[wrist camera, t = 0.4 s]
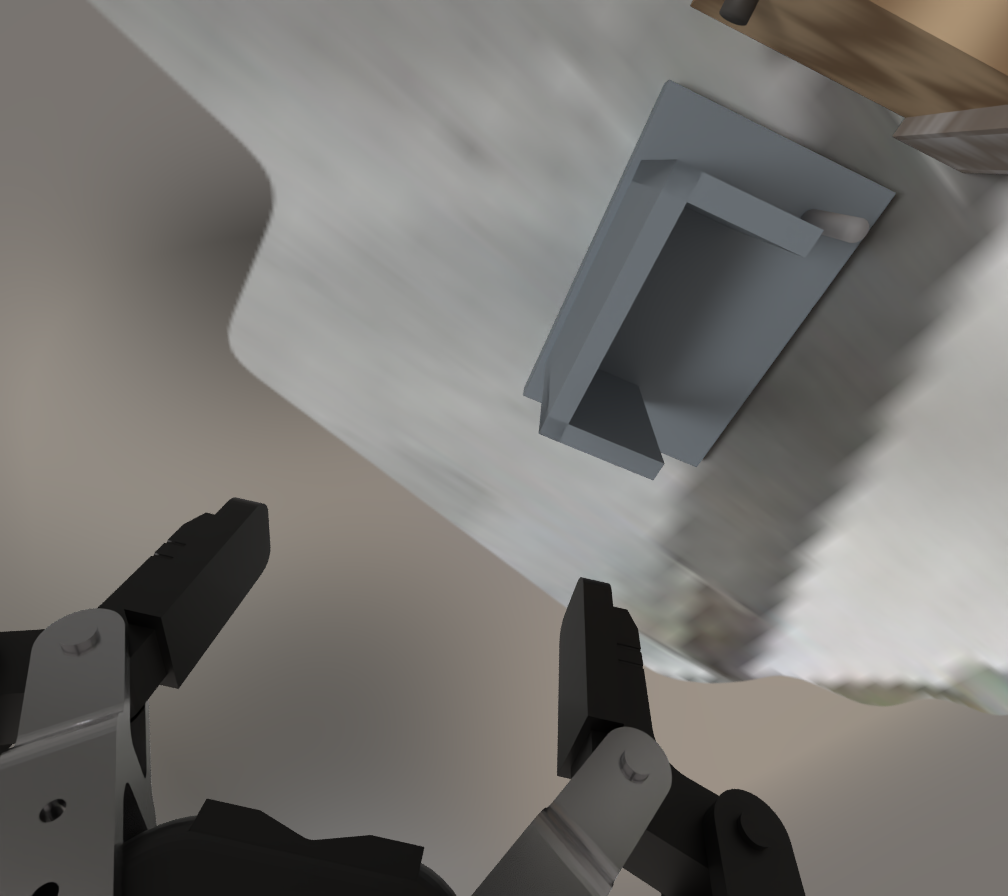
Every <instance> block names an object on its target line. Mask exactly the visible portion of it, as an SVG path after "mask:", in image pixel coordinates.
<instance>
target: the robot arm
mask: <svg viewBox="0 0 1008 896" xmlns="http://www.w3.org/2000/svg"><path fill="white" fill-rule="evenodd" d="M269 555H270V535H269V518H268V508H267V506H266V505H265V504H262V503H258V502H253V501H249V500H245V499H240V498H232V499H230V500H229V501H228V502H227V503H226V504H225V505H224V506H223V507H222V508H221V509H220V510H219V511H218V512H217V513H216V514H215V515H214V514H210V513H204V514H203V515H200V516H199V517H197V518H195V519H193V520H191V521H189V522H187V523H185V524H184V525H182V526H181V527H180V528H179V530H177V531H176V532H175V533H174V534H173V535H172V536H171V537H170V538H169V539H168V541H167V543H164V544H163V545H162V546H161V547H160V548H159V549H158V550H157V551H156V552H155V554H154V556H151V557H150V558H149V559H148V560H146V561H145V562H144V564H142V565H141V567H139V568H138V569H137V570H136V571H135V572H134V573H133V574H132V575H131V576H130V577H129V578H128V579H127V580H126V581H125V582H124V583H123V584H122V585H121V586H120V587H119V588H118V589H117V590H116V591H115V592H114V593H113V594H112V595H111V596H110V597H109V598H107V600H105V602H103V603H102V604H101V605H100V606H99V607H98V608H96V609H87V610H81V611H78V612H74V613H72V614H69V615H67V616H65V617H63V618H61V619H59V620H58V621H56V622H54V623H52V624H51V625H50V626H48V627H47V628H46V629H41V630H26V631H10V632H0V896H456V894H455V893H454V891H453V890H452V889H451V888H450V887H449V885H448V884H447V883H446V882H445V881H444V880H443V879H442V878H441V877H440V876H439V875H437V874H436V873H435V872H434V871H433V870H432V869H430V868H428V867H427V866H425V865H424V864H422V863H421V860H422V855H423V851H424V847H422V846H417V845H413V844H409V843H404V842H400V841H395V840H390V839H385V838H381V837H377V836H373V835H367V836H356V837H344V838H333V839H322V840H309V839H306V838H304V837H302V836H301V835H299V834H297V833H296V832H294V831H292V830H291V829H289V828H288V827H286V826H285V825H283V824H281V823H280V822H278V821H276V820H275V819H273V818H272V817H270V816H268V815H267V814H265V813H264V812H262V811H260V810H256V809H251V808H247V807H242V806H238V805H234V804H229V803H224V802H220V801H215V800H211V799H206V801H205V803H204V804H203V806H202V808H201V810H200V811H199V813H198V815H197V816H190V817H185V818H180V819H176V820H172V821H169V822H166V823H163V824H160V825H158V826H157V824H156V815H155V807H154V802H153V796H152V786H151V756H150V721H149V702H148V699H149V697H150V696H151V695H152V694H153V692H154V691H155V690H156V688H157V687H158V686H159V685H163V686H168V687H172V688H177V689H179V687H180V686H181V685H182V683H183V682H184V680H185V679H186V678H187V676H188V675H189V673H190V672H191V671H192V669H193V668H194V667H195V665H196V664H197V663H198V661H199V660H200V658H201V657H202V656H203V654H204V653H205V651H206V650H207V648H208V647H209V646H210V644H211V643H212V642H213V640H214V639H215V638H216V636H217V635H218V633H219V632H220V631H221V629H222V628H223V626H224V625H225V624H226V622H227V621H228V620H229V618H230V617H231V615H232V614H233V613H234V611H235V610H236V608H237V607H238V606H239V604H240V603H241V602H242V600H243V599H244V597H245V596H246V595H247V593H248V592H249V591H250V589H251V588H252V586H253V585H254V584H255V582H256V581H257V580H258V578H259V577H260V575H261V574H262V572H263V570H264V569H265V567H266V565H267V562H268V559H269ZM559 648H560V649H559V701H558V757H557V776H560V777H565V778H569V779H571V780H570V781H569V783H568V784H567V785H566V786H565V788H564V789H563V790H562V791H561V792H560V794H559V795H558V796H557V797H556V799H555V800H554V801H553V802H552V803H551V805H550V806H549V807H547V808H544V809H543V810H542V811H541V812H540V813H539V814H538V815H537V816H536V818H535V819H534V820H533V821H532V822H531V824H530V825H529V826H528V827H527V828H526V830H525V831H524V832H523V833H522V835H521V836H520V837H519V838H518V839H517V841H516V842H515V843H514V844H513V846H512V847H511V848H510V849H509V850H508V852H507V853H506V854H505V855H504V857H503V858H502V859H501V860H500V862H499V863H498V864H497V865H496V866H495V867H494V869H493V870H492V871H491V872H490V874H489V875H488V876H487V877H486V879H485V880H484V881H483V882H482V883H481V885H480V886H479V887H478V888H477V889H476V891H475V892H474V893H473V894H472V896H608V895H609V893H610V891H611V889H612V887H613V883H614V881H615V879H616V877H617V875H618V874H619V872H620V871H621V869H622V867H623V868H624V869H626V870H627V871H629V872H630V873H632V874H633V875H635V876H637V877H638V878H640V879H641V880H642V881H644V882H646V883H647V884H649V885H650V886H652V887H653V888H655V889H656V890H658V891H659V892H661V896H805V892H804V889H803V885H802V882H801V878H800V874H799V871H798V867H797V863H796V860H795V856H794V852H793V849H792V845H791V842H790V839H789V836H788V833H787V831H786V829H785V827H784V826H783V824H782V822H781V820H780V819H779V818H778V816H777V815H776V814H775V813H774V811H773V810H772V809H771V808H770V807H769V806H768V805H767V804H766V803H765V802H764V801H762V800H761V799H760V798H758V797H757V796H755V795H753V794H751V793H749V792H747V791H744V790H739V789H731V790H727V791H725V792H723V793H722V794H721V795H720V796H718V795H716V794H715V793H713V792H711V791H710V790H708V789H706V788H704V787H703V786H701V785H699V784H697V783H696V782H694V781H692V780H690V779H689V778H687V777H686V776H684V775H682V774H681V773H680V772H679V771H677V770H676V769H675V768H674V767H673V766H672V765H671V764H670V763H669V761H668V759H667V756H666V755H665V753H664V751H663V750H662V748H661V747H660V746H659V744H658V743H657V742H656V740H655V737H654V734H653V729H652V722H651V716H650V709H649V702H648V695H647V688H646V681H645V674H644V669H643V660H642V653H641V652H640V649H641V647H640V640H639V633H638V628H637V626H636V624H635V623H634V621H633V619H632V617H631V616H630V614H629V612H628V610H626V609H622V608H618V607H613V600H612V590H611V586H610V584H609V583H604V582H600V581H595V580H591V579H587V578H582V577H580V578H579V580H578V582H577V585H576V587H575V590H574V592H573V595H572V597H571V600H570V602H569V605H568V608H567V610H566V613H565V615H564V618H563V622H562V626H561V632H560V644H559ZM15 743H16V744H15ZM12 744H15V746H14V747H13V748H9V747H10V746H11V745H12Z"/></svg>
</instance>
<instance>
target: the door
mask: <svg viewBox="0 0 1008 896" xmlns="http://www.w3.org/2000/svg"><path fill="white" fill-rule="evenodd" d="M691 7H693V8H695V9H697V10H699V11H701V12H703V13H705V14H707V15H708V16H710V17H712V18H714V19H716V20H718V21H720V22H722V23H724V24H726V25H728V26H730V27H732V28H733V29H735V30H737V31H739V32H741V33H743V34H745V35H747V36H749V37H751V38H753V39H755V40H757V41H758V42H760V43H762V44H764V45H766V46H768V47H770V48H772V49H774V50H776V51H778V52H780V53H782V54H784V55H785V56H787V57H789V58H791V59H793V60H795V61H797V62H799V63H801V64H803V65H805V66H807V67H809V68H810V69H812V70H814V71H816V72H818V73H820V74H822V75H824V76H826V77H828V78H830V79H832V80H834V81H835V82H837V83H839V84H841V85H843V86H845V87H847V88H849V89H851V90H853V91H855V92H857V93H859V94H861V95H862V96H864V97H866V98H868V99H870V100H872V101H874V102H876V103H878V104H880V105H882V106H884V107H886V108H887V109H889V110H891V111H893V112H895V113H897V114H899V115H901V116H903V117H905V119H904V120H903V122H902V123H901V125H900V126H899V127H898V129H897V130H896V132H895V133H894V135H893V136H892V137H894V138H896V139H898V140H900V141H902V142H904V143H905V144H907V145H909V146H911V147H913V148H915V149H917V150H919V151H921V152H923V153H925V154H927V155H929V156H931V157H933V158H935V159H937V160H939V161H941V162H942V163H944V164H946V165H948V166H950V167H952V168H954V169H956V170H958V171H960V172H962V173H981V174H1008V0H693V1H692V3H691Z"/></svg>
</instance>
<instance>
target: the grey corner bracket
mask: <svg viewBox="0 0 1008 896" xmlns="http://www.w3.org/2000/svg"><path fill="white" fill-rule="evenodd" d="M895 194H896V193H895V192H893V191H891V190H889V189H887V188H885V187H883V186H881V185H879V184H877V183H875V182H873V181H871V180H869V179H867V178H865V177H863V176H861V175H859V174H857V173H855V172H853V171H851V170H849V169H847V168H845V167H843V166H841V165H839V164H837V163H835V162H833V161H831V160H829V159H827V158H825V157H823V156H821V155H819V154H817V153H815V152H813V151H811V150H809V149H807V148H805V147H803V146H801V145H799V144H797V143H795V142H793V141H791V140H789V139H787V138H785V137H783V136H781V135H779V134H777V133H775V132H773V131H771V130H769V129H767V128H765V127H763V126H761V125H759V124H757V123H755V122H753V121H751V120H749V119H747V118H745V117H743V116H741V115H739V114H737V113H735V112H733V111H731V110H729V109H727V108H725V107H723V106H721V105H719V104H717V103H715V102H713V101H711V100H709V99H707V98H705V97H703V96H701V95H699V94H697V93H695V92H693V91H691V90H689V89H687V88H685V87H683V86H681V85H679V84H677V83H675V82H673V81H671V80H668V81H667V82H666V83H665V84H664V86H663V88H662V90H661V92H660V95H659V97H658V99H657V101H656V103H655V105H654V108H653V110H652V112H651V114H650V116H649V118H648V121H647V123H646V125H645V127H644V129H643V131H642V134H641V136H640V138H639V140H638V142H637V144H636V147H635V149H634V151H633V153H632V155H631V157H630V160H629V162H628V164H627V166H626V168H625V170H624V173H623V175H622V177H621V179H620V181H619V184H618V186H617V188H616V190H615V192H614V194H613V197H612V199H611V201H610V203H609V205H608V207H607V210H606V212H605V214H604V216H603V218H602V220H601V223H600V225H599V227H598V229H597V231H596V233H595V236H594V238H593V240H592V242H591V244H590V246H589V249H588V251H587V253H586V255H585V257H584V259H583V262H582V264H581V266H580V268H579V270H578V272H577V275H576V277H575V279H574V281H573V283H572V285H571V288H570V290H569V292H568V294H567V296H566V298H565V301H564V303H563V305H562V307H561V309H560V311H559V314H558V316H557V318H556V320H555V322H554V325H553V327H552V329H551V331H550V333H549V335H548V338H547V340H546V342H545V344H544V346H543V348H542V351H541V353H540V355H539V357H538V359H537V361H536V364H535V366H534V368H533V370H532V372H531V374H530V377H529V379H528V381H527V383H526V385H525V387H524V393H523V396H526V397H528V398H531V399H533V400H536V401H538V402H540V403H542V404H541V415H540V426H539V434H541V435H543V436H546V437H548V438H550V439H553V440H555V441H558V442H560V443H563V444H565V445H568V446H570V447H573V448H575V449H577V450H580V451H582V452H585V453H587V454H590V455H592V456H595V457H597V458H600V459H602V460H604V461H607V462H609V463H612V464H614V465H617V466H619V467H622V468H624V469H627V470H629V471H631V472H634V473H636V474H639V475H641V476H644V477H646V478H649V479H651V480H654V478H655V477H656V475H657V474H658V473H659V471H660V470H661V468H662V467H663V465H664V461H663V458H662V455H661V453H663V454H666V455H668V456H671V457H673V458H675V459H678V460H680V461H683V462H685V463H688V464H690V465H692V466H695V467H697V466H698V465H699V463H700V462H701V460H702V459H703V458H704V456H705V455H706V454H707V452H708V451H709V449H710V448H711V447H712V445H713V444H714V443H715V441H716V440H717V438H718V437H719V436H720V434H721V433H722V432H723V430H724V429H725V427H726V426H727V425H728V423H729V422H730V421H731V419H732V418H733V416H734V415H735V414H736V412H737V411H738V410H739V408H740V407H741V406H742V404H743V403H744V401H745V400H746V399H747V397H748V396H749V395H750V393H751V392H752V390H753V389H754V388H755V386H756V385H757V384H758V382H759V381H760V379H761V378H762V377H763V375H764V374H765V373H766V371H767V370H768V368H769V367H770V366H771V364H772V363H773V362H774V360H775V359H776V357H777V356H778V355H779V353H780V352H781V351H782V349H783V348H784V346H785V345H786V344H787V342H788V341H789V340H790V338H791V337H792V335H793V334H794V333H795V331H796V330H797V329H798V327H799V326H800V324H801V323H802V322H803V320H804V319H805V318H806V316H807V315H808V314H809V312H810V311H811V309H812V308H813V307H814V305H815V304H816V303H817V301H818V300H819V298H820V297H821V296H822V294H823V293H824V292H825V290H826V289H827V287H828V286H829V285H830V283H831V282H832V281H833V279H834V278H835V276H836V275H837V274H838V272H839V271H840V270H841V268H842V267H843V265H844V264H845V263H846V261H847V260H848V259H849V257H850V256H851V254H852V253H853V252H854V250H855V249H856V248H857V246H858V245H859V243H860V242H861V241H862V239H863V238H864V237H865V236H866V235H867V233H868V231H869V230H870V228H871V227H872V226H873V224H874V223H875V222H876V220H877V219H878V217H879V216H880V215H881V213H882V212H883V211H884V209H885V208H886V206H887V205H888V204H889V202H890V201H891V200H892V198H893V197H894V195H895Z"/></svg>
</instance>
